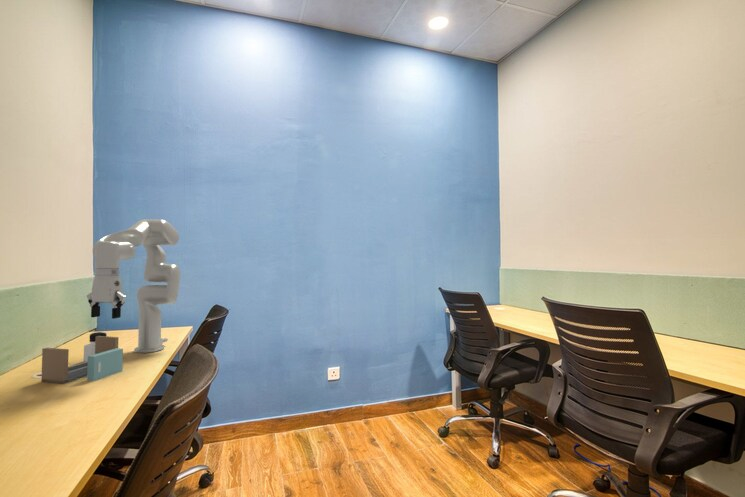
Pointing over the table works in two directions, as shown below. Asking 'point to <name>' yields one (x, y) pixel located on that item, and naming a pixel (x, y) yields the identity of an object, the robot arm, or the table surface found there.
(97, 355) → the door panel
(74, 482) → the table surface
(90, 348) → the medicine bottle
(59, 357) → the door frame
